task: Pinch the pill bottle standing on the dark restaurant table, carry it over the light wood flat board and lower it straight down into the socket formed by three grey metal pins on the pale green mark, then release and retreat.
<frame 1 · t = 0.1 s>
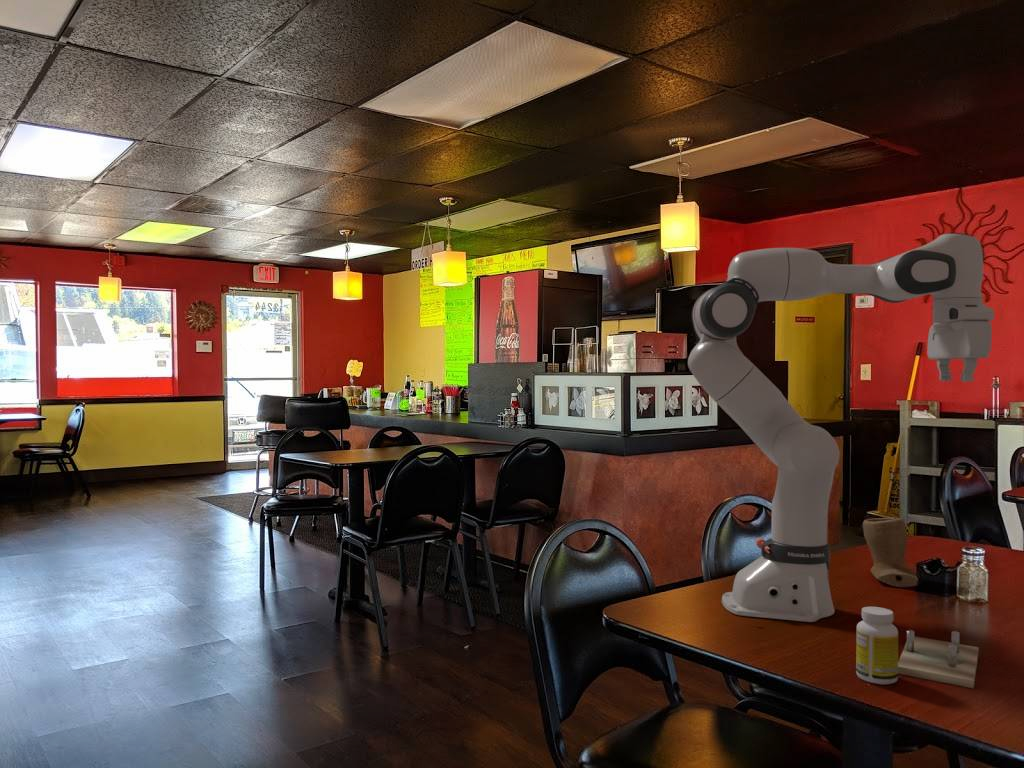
hand: (955, 381, 161), 48 cm above the table, fingers open, 8 cm apart
tan boot: (890, 581, 188), on the table
light wood flat board: (938, 663, 134), on the table
pill bottle: (876, 679, 128), on the table
header pins: (931, 644, 135), on the light wood flat board, point 3 cm above the table
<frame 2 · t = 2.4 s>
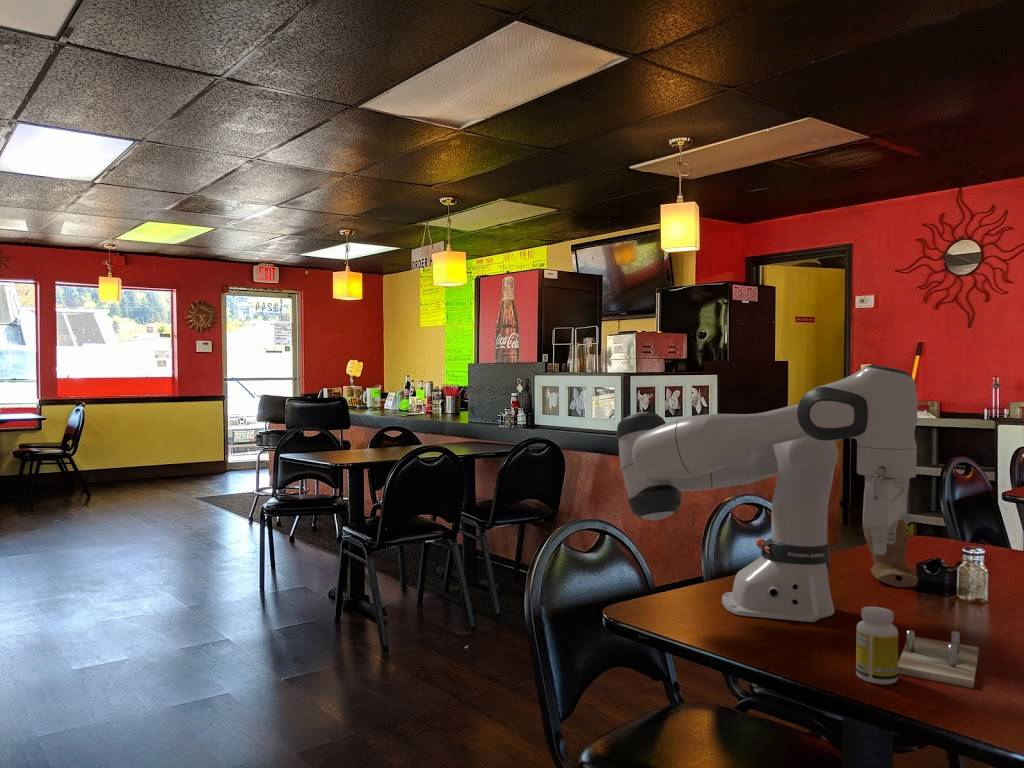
hand: (884, 548, 129), 21 cm above the table, fingers open, 8 cm apart
nothing on the table moved.
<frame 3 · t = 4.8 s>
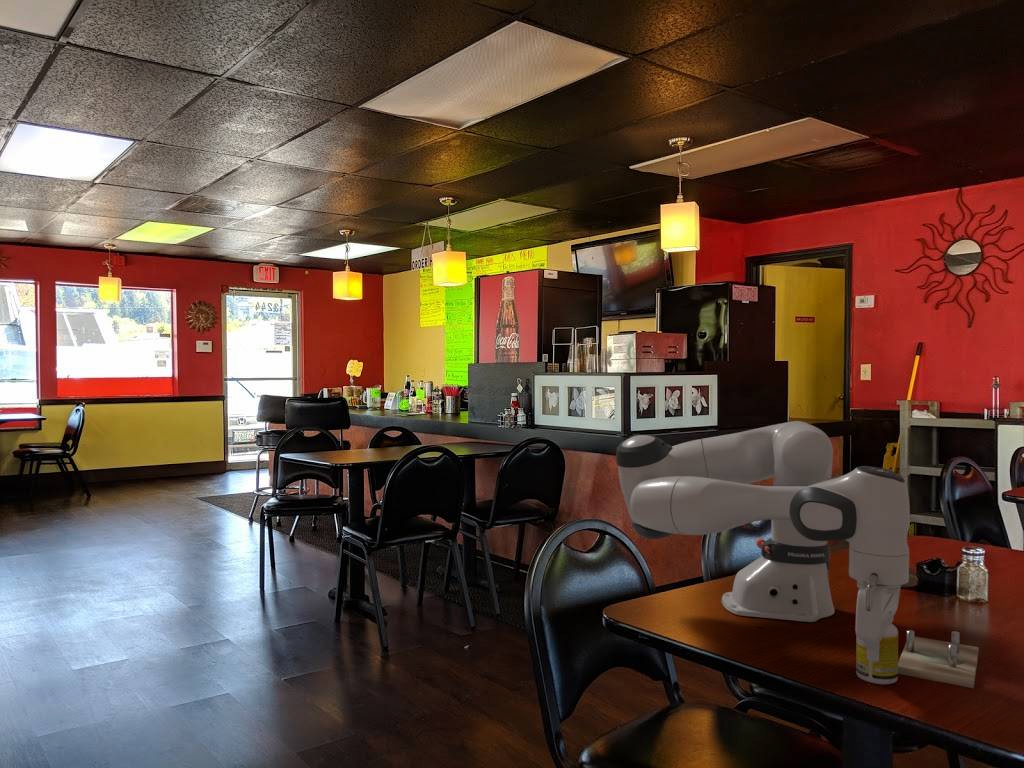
hand: (876, 652, 128), 4 cm above the table, fingers closed on pill bottle, 6 cm apart
pill bottle: (876, 679, 128), on the table, touching gripper
everything else where it was.
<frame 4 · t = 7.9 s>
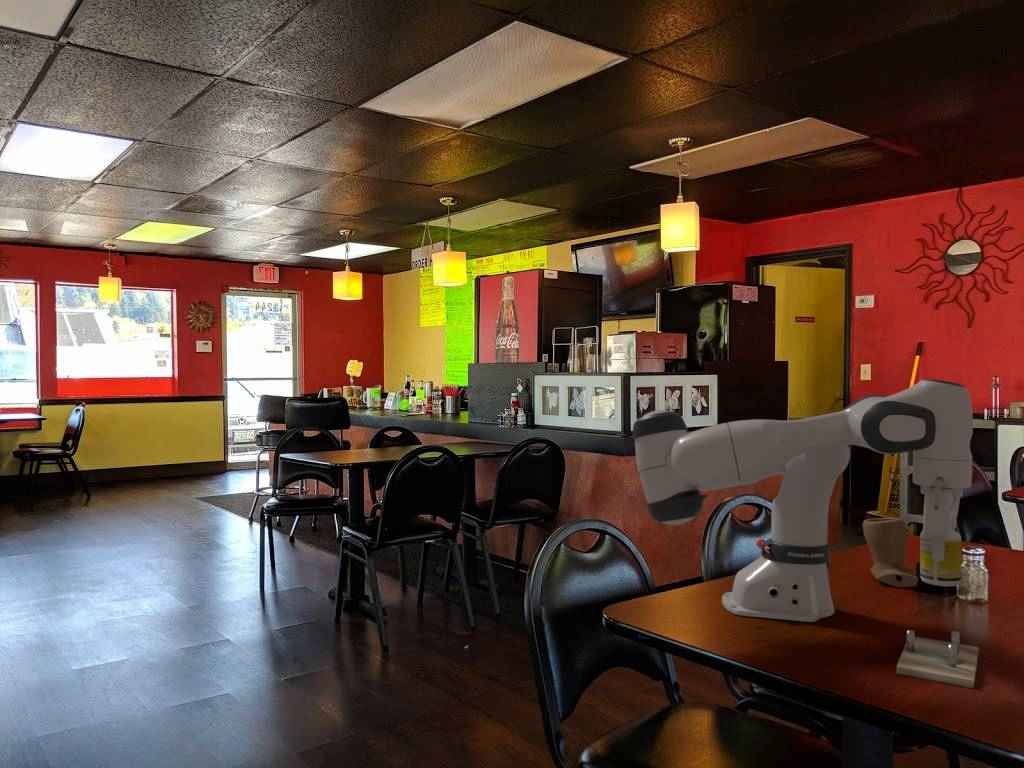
hand: (940, 555, 134), 18 cm above the table, fingers closed on pill bottle, 6 cm apart
pill bottle: (940, 583, 134), point 14 cm above the table, touching gripper
everything else where it was.
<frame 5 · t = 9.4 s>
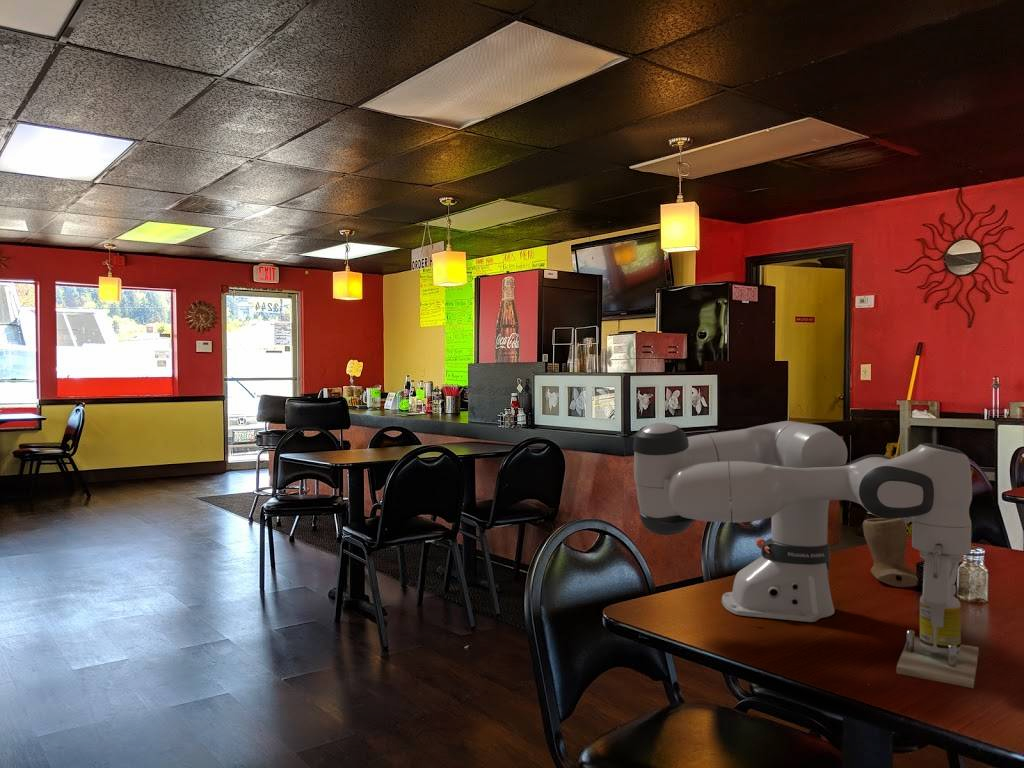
hand: (939, 620, 134), 7 cm above the table, fingers closed on pill bottle, 6 cm apart
pill bottle: (939, 649, 134), point 2 cm above the table, touching gripper
everything else where it was.
when the fingers open (7 cm above the table, at t = 10.5 s): pill bottle stays where it is, resting on light wood flat board.
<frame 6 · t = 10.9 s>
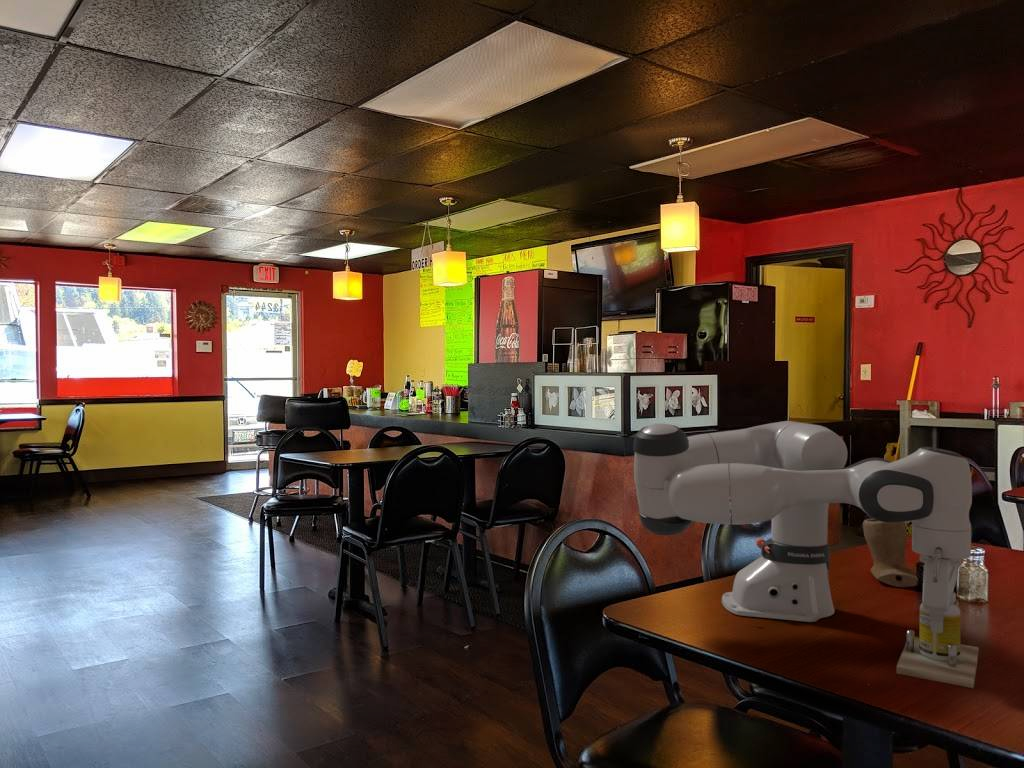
hand: (939, 623, 134), 7 cm above the table, fingers open, 8 cm apart
pill bottle: (939, 656, 134), point 1 cm above the table, touching light wood flat board
everything else where it was.
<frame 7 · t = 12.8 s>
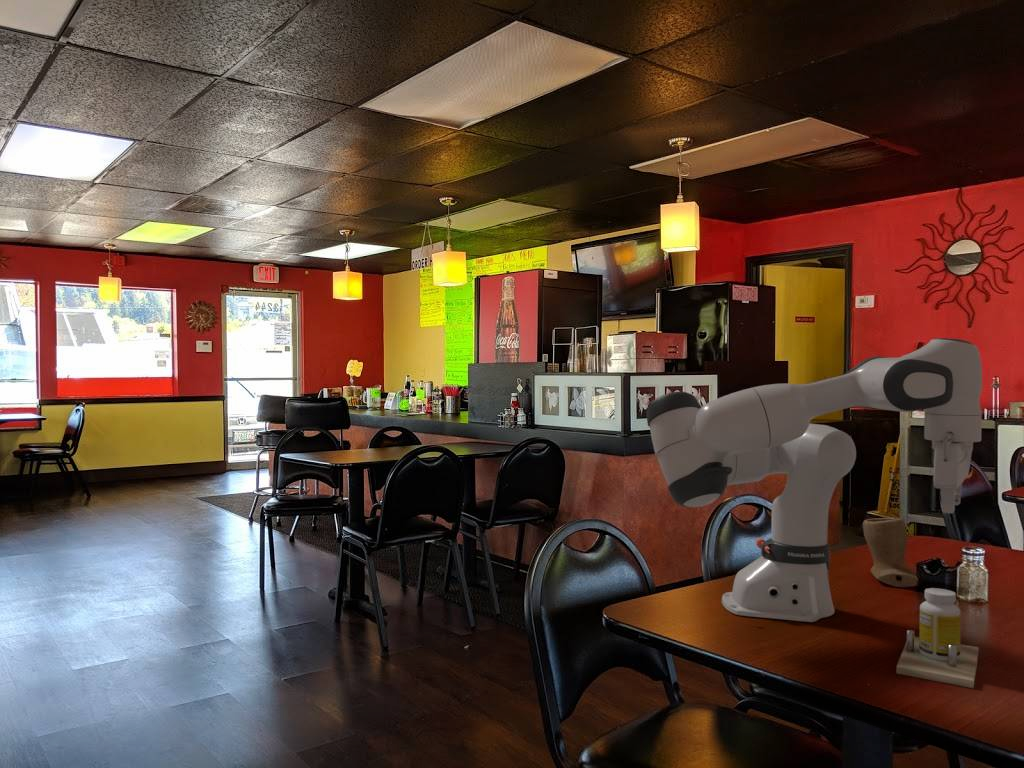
hand: (951, 508, 139), 26 cm above the table, fingers open, 8 cm apart
nothing on the table moved.
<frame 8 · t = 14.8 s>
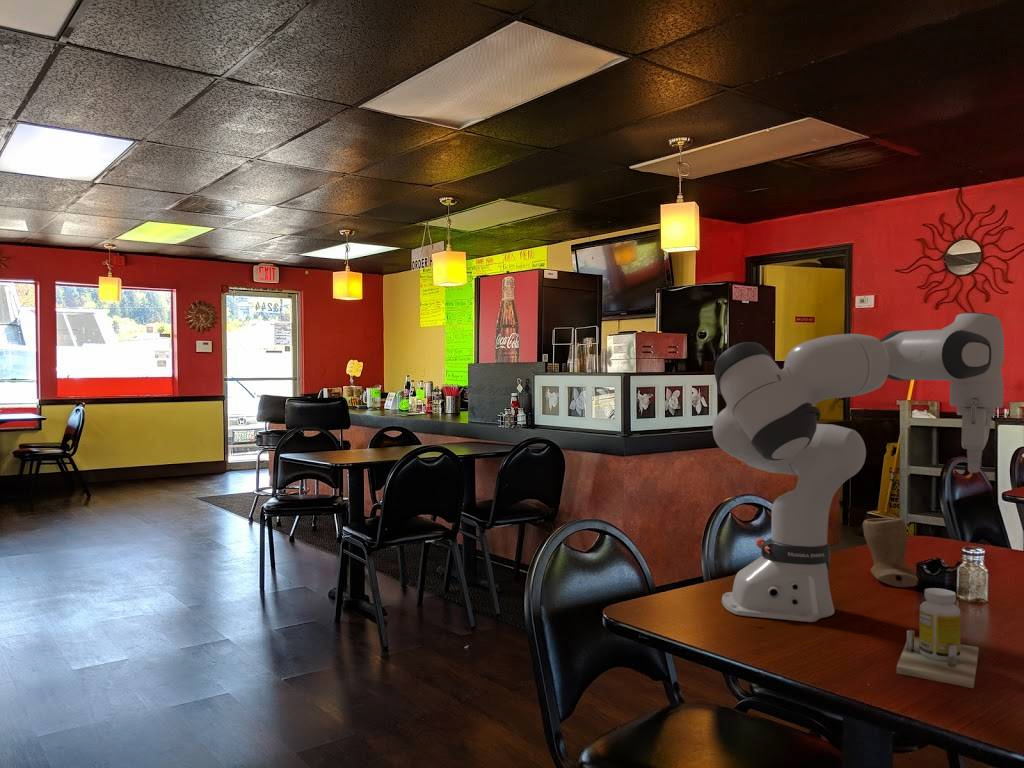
hand: (974, 469, 151), 31 cm above the table, fingers open, 8 cm apart
nothing on the table moved.
at the end: pill bottle 0.1 cm from the light wood flat board (horizontally); pill bottle point 1.1 cm above the table; pill bottle tilted 0° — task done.
